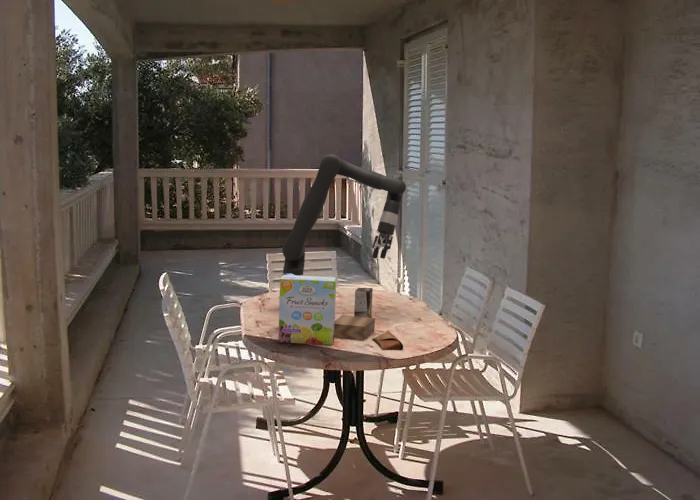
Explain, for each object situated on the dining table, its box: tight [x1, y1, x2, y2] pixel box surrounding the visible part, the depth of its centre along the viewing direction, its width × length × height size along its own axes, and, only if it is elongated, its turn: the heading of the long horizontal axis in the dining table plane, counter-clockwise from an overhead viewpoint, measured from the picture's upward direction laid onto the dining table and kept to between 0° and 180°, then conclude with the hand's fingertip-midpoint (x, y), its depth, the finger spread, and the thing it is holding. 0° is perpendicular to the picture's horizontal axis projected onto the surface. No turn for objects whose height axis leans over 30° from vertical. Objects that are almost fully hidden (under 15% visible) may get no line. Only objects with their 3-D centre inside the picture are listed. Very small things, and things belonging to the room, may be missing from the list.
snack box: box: [277, 275, 337, 346], centre depth 309 cm, size 22×9×26 cm, turn 88°
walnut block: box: [334, 315, 376, 341], centre depth 325 cm, size 14×16×6 cm
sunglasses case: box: [371, 330, 404, 351], centre depth 311 cm, size 18×7×7 cm
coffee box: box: [353, 287, 374, 318], centre depth 338 cm, size 9×6×16 cm
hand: (378, 258), depth 351 cm, fingers open, 8 cm apart
